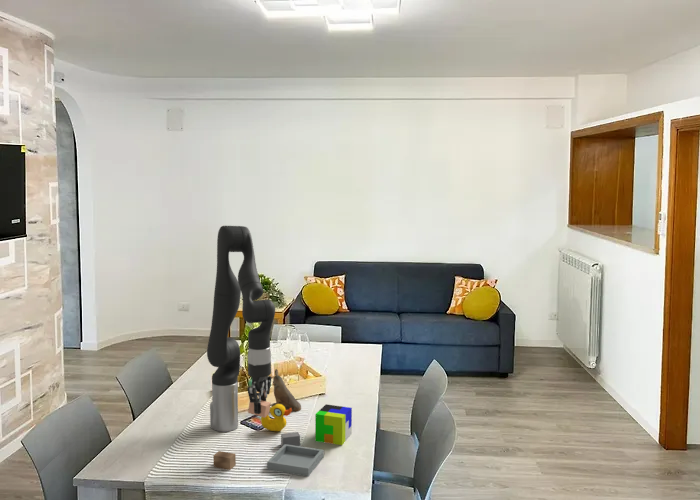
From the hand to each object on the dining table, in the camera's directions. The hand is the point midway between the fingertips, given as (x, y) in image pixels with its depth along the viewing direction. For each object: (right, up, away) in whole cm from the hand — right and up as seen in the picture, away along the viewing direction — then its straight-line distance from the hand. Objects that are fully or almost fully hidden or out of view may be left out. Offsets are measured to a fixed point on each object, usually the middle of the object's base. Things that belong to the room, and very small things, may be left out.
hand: (260, 410), depth 208 cm
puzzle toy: (+24, -14, +17) cm, 32 cm away
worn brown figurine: (+4, -11, +44) cm, 45 cm away
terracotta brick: (-1, -1, 0) cm, 1 cm away
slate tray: (+12, -16, -4) cm, 21 cm away
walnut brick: (-11, -16, -6) cm, 20 cm away
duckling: (+3, -13, +22) cm, 26 cm away
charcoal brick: (+9, -15, +10) cm, 20 cm away
